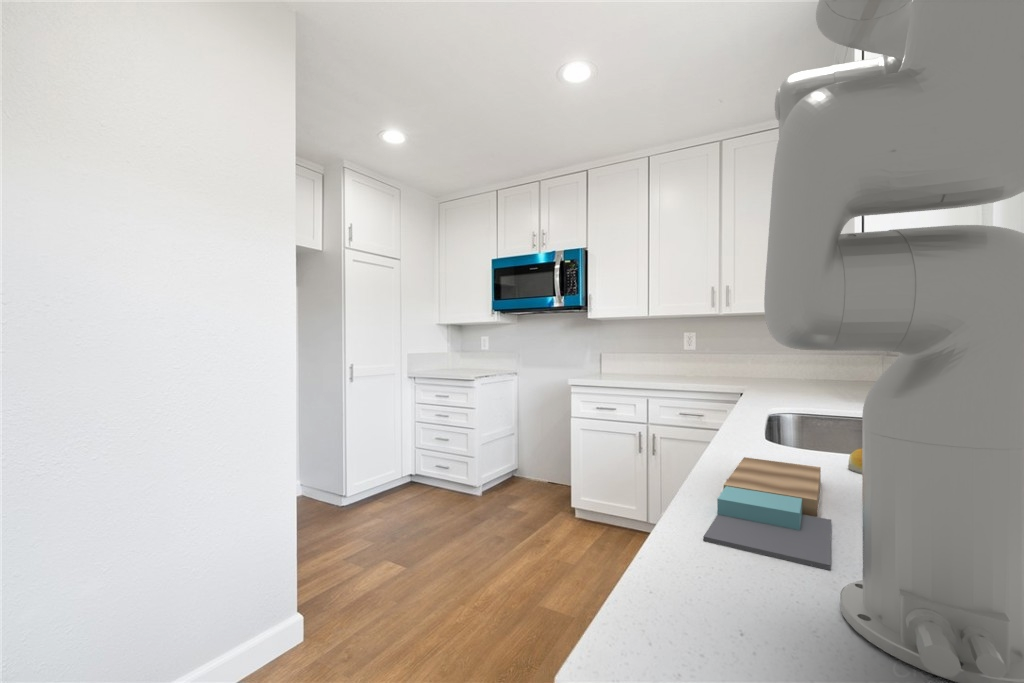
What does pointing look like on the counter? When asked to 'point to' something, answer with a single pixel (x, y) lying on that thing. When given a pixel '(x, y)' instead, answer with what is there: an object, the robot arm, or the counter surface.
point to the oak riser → (779, 480)
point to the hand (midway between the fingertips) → (807, 299)
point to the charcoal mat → (776, 539)
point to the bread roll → (856, 461)
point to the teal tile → (760, 507)
